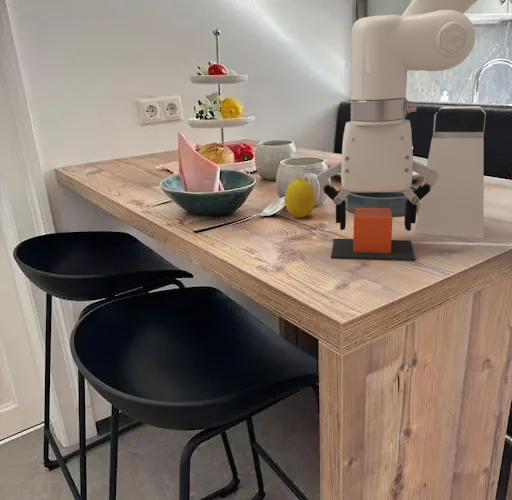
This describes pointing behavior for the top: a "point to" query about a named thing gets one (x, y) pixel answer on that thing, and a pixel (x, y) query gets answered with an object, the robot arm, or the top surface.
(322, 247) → the top surface
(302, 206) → the lemon
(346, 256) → the mat
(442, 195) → the grater
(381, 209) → the cube
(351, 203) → the bowl
